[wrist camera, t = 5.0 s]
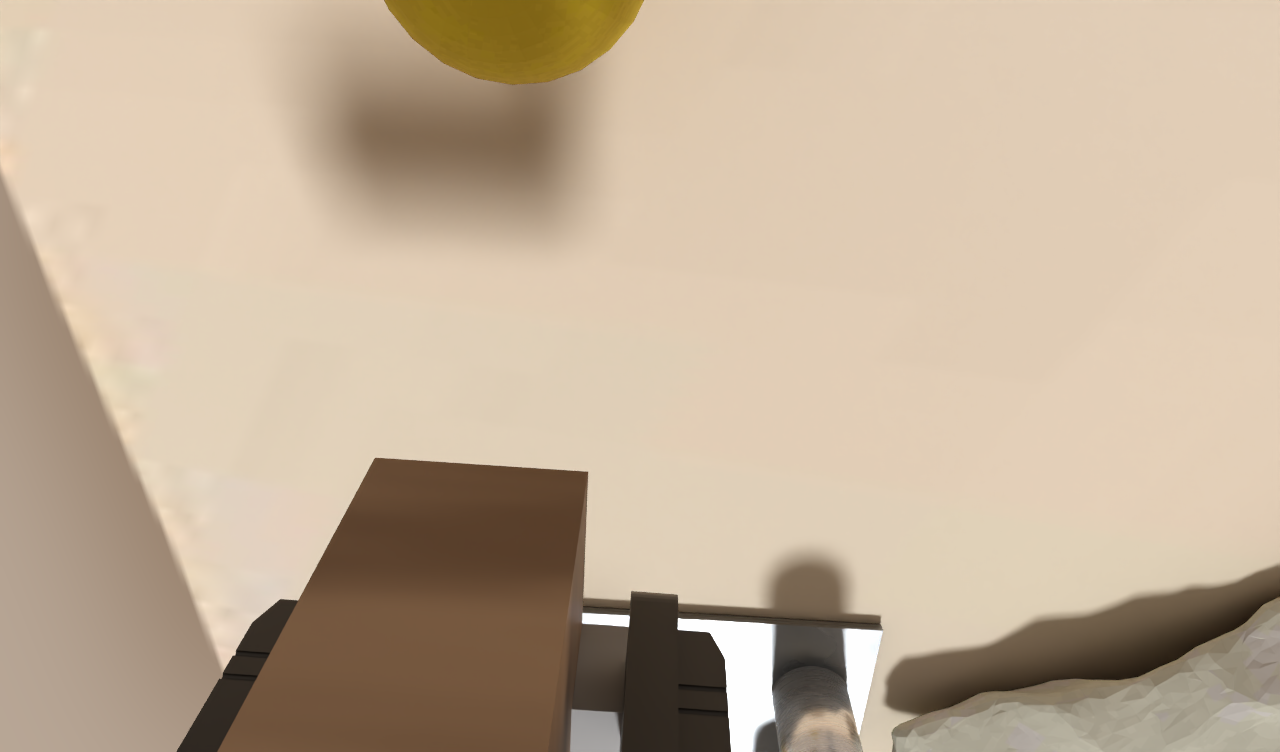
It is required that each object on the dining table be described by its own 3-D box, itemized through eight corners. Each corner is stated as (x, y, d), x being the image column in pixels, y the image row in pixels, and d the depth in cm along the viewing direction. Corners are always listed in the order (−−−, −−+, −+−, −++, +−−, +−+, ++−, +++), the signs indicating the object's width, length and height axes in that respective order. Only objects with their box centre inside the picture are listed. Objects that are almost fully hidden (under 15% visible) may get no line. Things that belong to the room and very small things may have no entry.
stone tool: (1506, 521, 30) (915, 534, 28) (1640, 605, 26) (968, 626, 24) (1340, 822, 36) (854, 846, 35) (1427, 924, 33) (888, 956, 31)
